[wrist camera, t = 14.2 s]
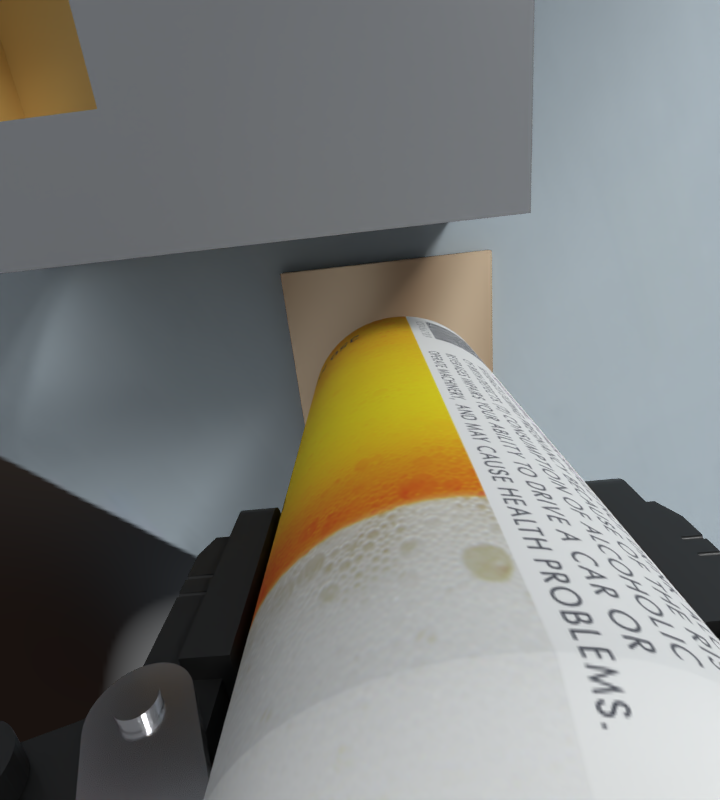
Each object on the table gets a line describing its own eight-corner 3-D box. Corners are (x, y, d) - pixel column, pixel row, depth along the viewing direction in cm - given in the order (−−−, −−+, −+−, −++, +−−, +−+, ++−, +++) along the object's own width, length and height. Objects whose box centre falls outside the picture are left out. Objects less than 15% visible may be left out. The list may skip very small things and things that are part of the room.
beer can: (296, 436, 18) (74, 1165, 4) (351, 285, 16) (284, 725, 2) (439, 485, 19) (661, 1242, 5) (510, 347, 17) (1230, 971, 3)
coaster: (488, 249, 20) (491, 250, 20) (490, 438, 23) (493, 442, 23) (282, 273, 21) (280, 274, 20) (311, 455, 24) (310, 459, 23)
